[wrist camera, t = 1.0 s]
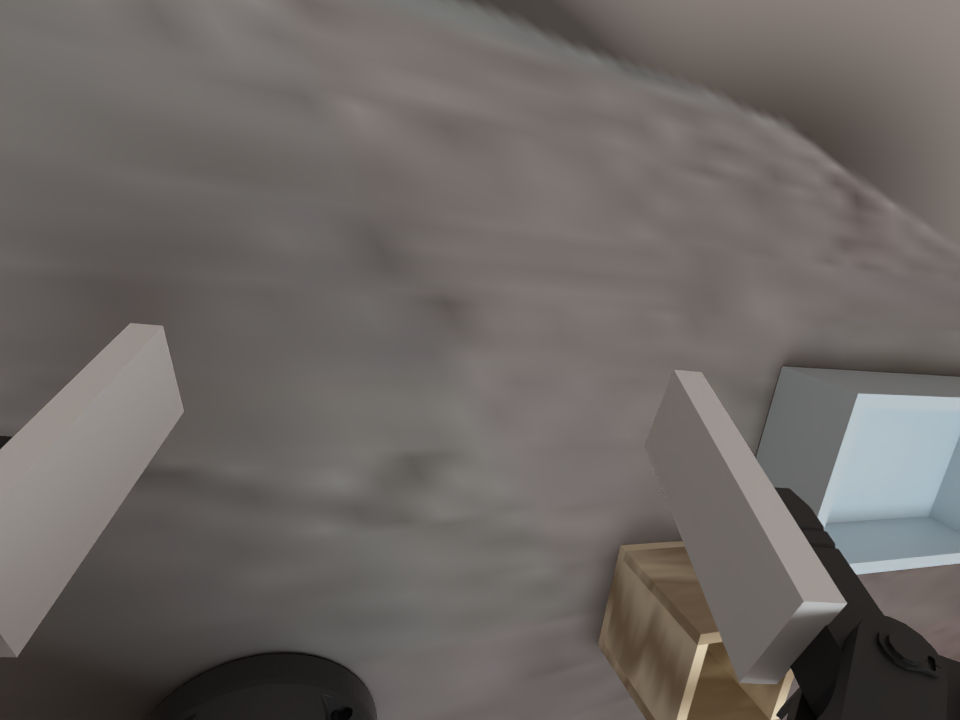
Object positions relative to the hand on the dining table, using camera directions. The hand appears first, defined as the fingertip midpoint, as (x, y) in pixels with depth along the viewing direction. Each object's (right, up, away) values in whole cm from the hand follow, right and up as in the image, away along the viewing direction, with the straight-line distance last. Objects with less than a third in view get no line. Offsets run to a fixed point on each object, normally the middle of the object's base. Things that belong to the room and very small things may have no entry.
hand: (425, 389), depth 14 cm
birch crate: (+16, -18, +28) cm, 37 cm away
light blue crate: (+33, -7, +31) cm, 46 cm away
